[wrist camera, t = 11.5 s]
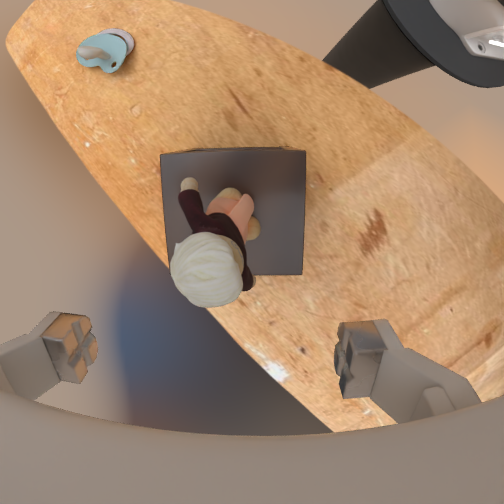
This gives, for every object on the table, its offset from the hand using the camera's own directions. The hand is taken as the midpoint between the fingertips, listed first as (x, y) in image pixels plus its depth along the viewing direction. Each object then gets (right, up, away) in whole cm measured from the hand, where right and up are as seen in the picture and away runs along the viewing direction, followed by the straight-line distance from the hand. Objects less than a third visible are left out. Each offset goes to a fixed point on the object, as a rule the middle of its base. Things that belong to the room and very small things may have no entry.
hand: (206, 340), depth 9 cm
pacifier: (-16, +28, +21) cm, 38 cm away
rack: (0, +10, +27) cm, 29 cm away
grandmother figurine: (0, +6, +15) cm, 16 cm away
